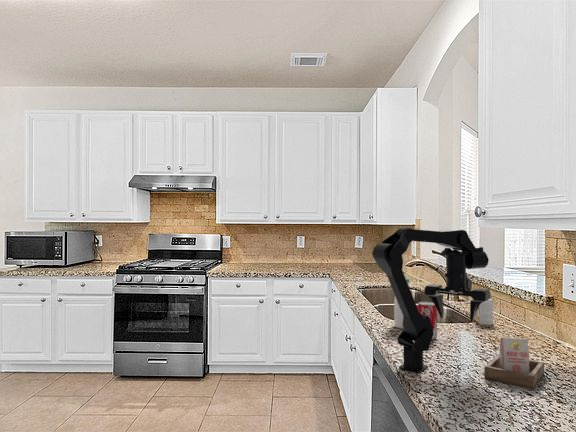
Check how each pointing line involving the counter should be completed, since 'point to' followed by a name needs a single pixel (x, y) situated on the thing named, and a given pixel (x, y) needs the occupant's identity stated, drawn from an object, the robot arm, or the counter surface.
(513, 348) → the tea bag
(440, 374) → the counter surface
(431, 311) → the soda can
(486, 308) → the small box
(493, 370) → the walnut tray
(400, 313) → the milk bottle
